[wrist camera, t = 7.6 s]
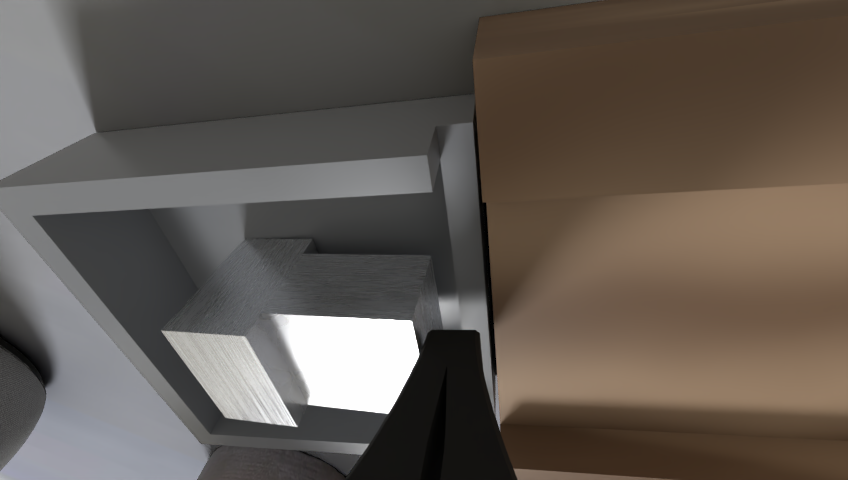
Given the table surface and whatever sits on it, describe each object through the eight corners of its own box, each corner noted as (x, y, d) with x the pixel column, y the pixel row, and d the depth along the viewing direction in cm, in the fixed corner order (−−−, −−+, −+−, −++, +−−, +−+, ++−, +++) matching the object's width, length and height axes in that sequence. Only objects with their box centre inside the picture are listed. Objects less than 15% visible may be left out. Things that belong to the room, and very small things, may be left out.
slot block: (885, 416, 15) (987, 542, 12) (501, 401, 18) (503, 502, 15) (1343, -101, 7) (2106, -134, 4) (479, 17, 9) (472, 60, 6)
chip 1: (297, 427, 12) (225, 418, 13) (344, 325, 15) (284, 322, 16) (245, 336, 10) (160, 330, 11) (312, 239, 13) (244, 238, 14)
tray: (495, 377, 17) (495, 463, 14) (243, 370, 19) (201, 443, 16) (475, 93, 10) (469, 151, 8) (94, 133, 13) (-18, 189, 10)
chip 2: (446, 349, 14) (433, 418, 12) (336, 341, 15) (307, 404, 13) (431, 255, 12) (411, 321, 10) (303, 253, 13) (261, 313, 11)
